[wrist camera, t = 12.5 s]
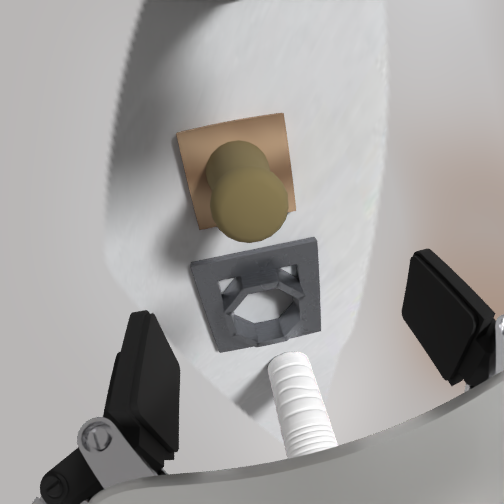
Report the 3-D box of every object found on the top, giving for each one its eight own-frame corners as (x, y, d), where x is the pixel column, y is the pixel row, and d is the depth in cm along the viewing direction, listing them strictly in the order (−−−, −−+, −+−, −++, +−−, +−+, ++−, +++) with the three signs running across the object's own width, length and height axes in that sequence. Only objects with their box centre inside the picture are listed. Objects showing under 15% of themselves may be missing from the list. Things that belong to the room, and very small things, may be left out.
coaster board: (177, 132, 26) (176, 133, 25) (281, 112, 27) (283, 113, 26) (199, 226, 31) (199, 230, 30) (293, 207, 32) (296, 210, 31)
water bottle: (265, 355, 42) (302, 521, 20) (308, 346, 42) (364, 504, 21) (269, 388, 46) (301, 528, 25) (308, 380, 47) (351, 515, 25)
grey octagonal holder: (191, 262, 33) (189, 279, 30) (314, 236, 34) (324, 251, 31) (219, 347, 40) (220, 366, 37) (318, 326, 41) (326, 343, 38)
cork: (217, 209, 30) (221, 268, 20) (196, 152, 27) (188, 184, 17) (276, 190, 29) (308, 240, 20) (259, 132, 26) (288, 153, 17)
